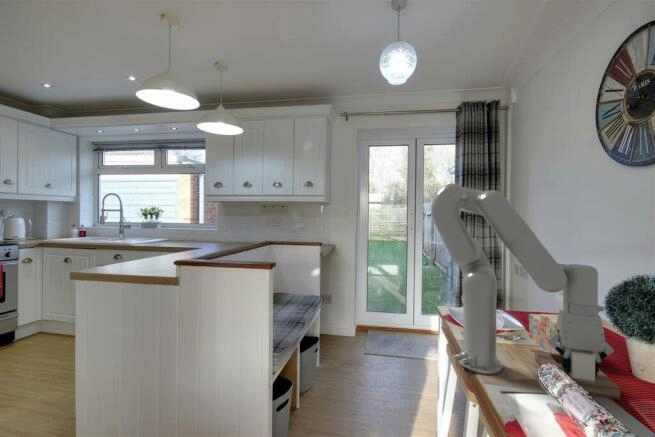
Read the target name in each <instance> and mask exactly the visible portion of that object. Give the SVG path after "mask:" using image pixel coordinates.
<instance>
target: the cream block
mask: <svg viewBox="0 0 655 437" xmlns="http://www.w3.org/2000/svg"><path fill="white" fill-rule="evenodd" d="M569 358H570V360H571V372H570V373H569V374H570V375H571V377H572V378H576V379H583V380H590V381H595V355H594V354H593V353H591V352H590V351H583V350H575V349H572V350H571V352H570V354H569Z"/></svg>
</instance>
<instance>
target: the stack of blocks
mask: <svg viewBox="0 0 655 437" xmlns="http://www.w3.org/2000/svg"><path fill="white" fill-rule="evenodd" d="M557 318H558V314H555V313H551V314H547V313H539V314H538V313H537V314H536V313H529V314H528V329H529V330H528V334H529V335H528V336H529V337H530V339H532V340H533V341H534V342H536V344H537V345H538V346H540V347H541V348H542V349H543V350H544V351H545V352H548V353H556V354H560V353H559V352H558V351H557V350H556V349H554V348H553V347H552V346H551V345H550V344H549V343H548V340H550V339H551V338H552V337H553V336H554V335H555V334H556V324H557ZM556 345H558V346H559V347H560V348H561V347H562V345H561V343H560V342H557V343H556Z"/></svg>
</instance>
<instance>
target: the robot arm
mask: <svg viewBox="0 0 655 437" xmlns="http://www.w3.org/2000/svg"><path fill="white" fill-rule="evenodd" d="M460 212H464V213H468V214H469V213H470V214H474V215H480V216H482V217H483V218H484V220H485V221H486V223H488V225H489V226H490V227H491V229H492V231H494V233H495V235H497V236H496V237H498V238H499V239H500V241H501V242H502V243H503V245H504V246H505V247H506V249H507V250H509V252H511V253H512V255H513V256H514V258H516V260H517V261H518V262H519V264H521V266H522V268H523V269H524V270H525V271H526V272H527V275H529V276H530V278H531V279H532V281H534V283H535V285H537V287H538V288H539V290H540V289H541V290H542V291H544V292H548V293H559V292H562V306H563V307H562V309H559V311H558V314H557V315H558V318H557V324H556V334H555V335H554V336H553V337H552V338H551V339H550V340H548V343H549V344H550V345H551V346H552V347H553V348H554V349H556V350H557V351H558V352H559V353H560V354H561V365H562V367H563V368H564V369H565V370H566V372H567V373H570V372H571V360H570V358H569V354H570V352H571V350H572V349H575V350H583V351H590V352H591V353H593V354H594V355H595V377H597V372H599V369H600V363H601V362H602V360H604V359H605V358H607V356H609V355H612V354H613V353H614V352H615V350H614V348H613V347H612V346H611V345H610V344H609V343H608V342H607V341H606V338H605V330H604V325H603V320H602V317H601V316H600V314H599V313H600V312H604V311H605V308H604V306H602V305H601V306H600V305H599V271H598V268H596V267H594V266H592V265H587V264H578V263H576V264H575V263H572V264H566V263H565V264H563V263H558V262H557V261H556V259H555V258H554V257H553V256H552V254H551V253H550V252H549V250H547V248H546V247H545V245H544V244H543V243H542V242H541V241H540V240H539V238H538V237H537V235H536V233H535V232H534V231H533V230H532V229H531V227H530V226H529V225H528V224H527V223H526V221H525V220H524V219H523V217H522V216H521V215H520V214H519V213H518V211H517V209H515V208H514V206H513V205H512V204H511V203H510V201H509V200H508V199H507V197H506V196H505V195H504V194H503V193H502V192H500V191H498V190H495V189H494V190H493V189H490V190H482V189H474V188H469V187H463V186H462V185H460V184H458V183H448V184H446V185H445V184H444V186H441V188H440V189H439V190H438V191H437V193H436V194H435V196H434V198H433V201H432V203H431V217H432V220H433V222H434V225H435V227H436V229H437V231H438V234H439V235H440V238H441V241H442V242H443V244H444V245H445V248H446V250H447V252H448V254H449V257H450V259H451V260H452V261H453V262H454V263H456V264H457V265H458V266H459V268H460V271H461V272H462V274H463V277H462V278H463V279H462V296H463V297H462V299H463V301H462V302H463V303H462V305H463V307H462V308H463V310H462V311H463V312H462V313H463V314H462V315H463V348H460V352H458V354H457V353H456V354H451V360H452V362H459V364H460V365H461V366H462V367H463V368H465V369H467V370H469V371H471V372H475V373H478V374H483V375H484V374H485V375H493V374H498V373H501V372H502V370H503V365H502V364H503V363H501V361H499V360H498V359H497V296H498V282H497V276H496V274H495V271H494V268H493V267H492V265H491V263H490V261H489V260H488V257H487V255H486V254H485V252H484V250H483V248H482V247H481V245H480V244H479V242H478V240H477V239H475V238H474V237H472V235H471V233H470V232H469V230H468V228H467V227H466V224H465V222H464V220H463V218H462V217H461V215H460ZM557 342H560V343H561V345H562V347H561V348H560V347H559V346H558V345H556V343H557Z"/></svg>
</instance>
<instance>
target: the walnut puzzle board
mask: <svg viewBox="0 0 655 437" xmlns="http://www.w3.org/2000/svg"><path fill="white" fill-rule="evenodd" d="M534 361H535V362H536V363H537V365H538V366H539V367H540V366H541V365H543V364H548V363H550V364H554V365H556V366H557V367H558V368H559V369H561V370H563V371H564V372H565V373H566V374H567V375H568V376H569V377H570V378H571V379H572V380H573V381H575V382H576V383H577V384H578V385H579V386H581V387H582V388H583V389H584V390H585V391H587V392H588V393H589V394H590V395H589V396H594V397H599V398H600V397H601V398H607V399H614V400H621V388H620V387H619V386H618V384H616V383H615V382H614V381H613V380H612V379H611V378H610V377H608V375H606V374H605V373H604V372H603V371H602V370H601V369H600V368H599V372H597V377H595V381H590V380H583V379H576V378H572V377H571V375H570V374H569V373H567V372H566V370H565V369H564V368H563V367H562V365H561V354H556V353H548V352H547V351H540V350H534Z"/></svg>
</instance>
